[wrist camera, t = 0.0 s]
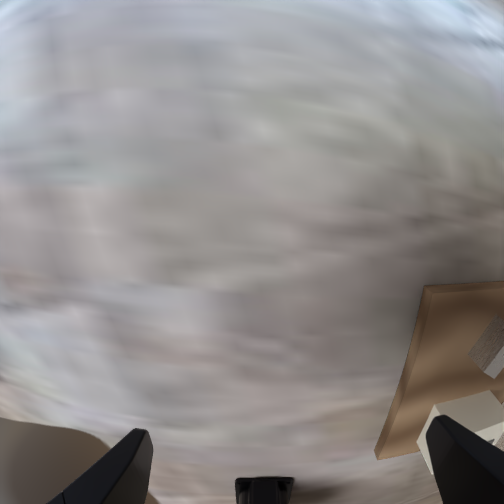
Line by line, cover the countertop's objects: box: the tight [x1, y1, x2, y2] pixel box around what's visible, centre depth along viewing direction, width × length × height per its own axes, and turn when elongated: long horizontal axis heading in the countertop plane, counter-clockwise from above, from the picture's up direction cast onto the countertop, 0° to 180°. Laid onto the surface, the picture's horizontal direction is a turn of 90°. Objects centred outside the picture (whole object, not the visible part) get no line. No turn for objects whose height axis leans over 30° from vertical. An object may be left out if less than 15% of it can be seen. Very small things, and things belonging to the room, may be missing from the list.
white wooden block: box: [468, 315, 504, 379], centre depth 21 cm, size 2×4×3 cm, turn 150°
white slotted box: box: [417, 390, 504, 475], centre depth 23 cm, size 6×8×5 cm
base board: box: [374, 281, 504, 460], centre depth 25 cm, size 20×16×2 cm
